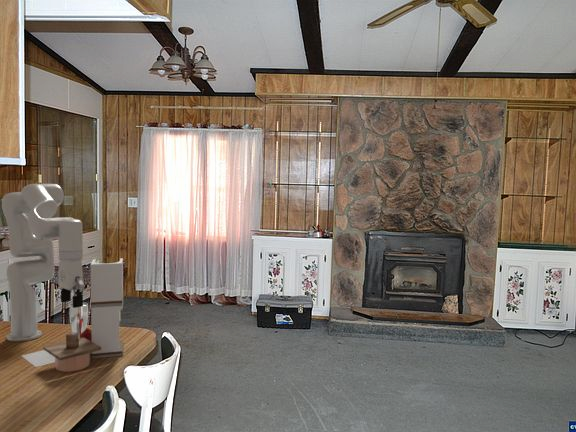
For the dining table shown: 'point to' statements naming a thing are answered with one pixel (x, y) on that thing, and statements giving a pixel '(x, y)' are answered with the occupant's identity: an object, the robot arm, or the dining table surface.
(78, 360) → the bowl
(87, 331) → the onion
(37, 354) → the mat
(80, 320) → the beer glass
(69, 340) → the lid
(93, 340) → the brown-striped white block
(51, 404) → the dining table surface
